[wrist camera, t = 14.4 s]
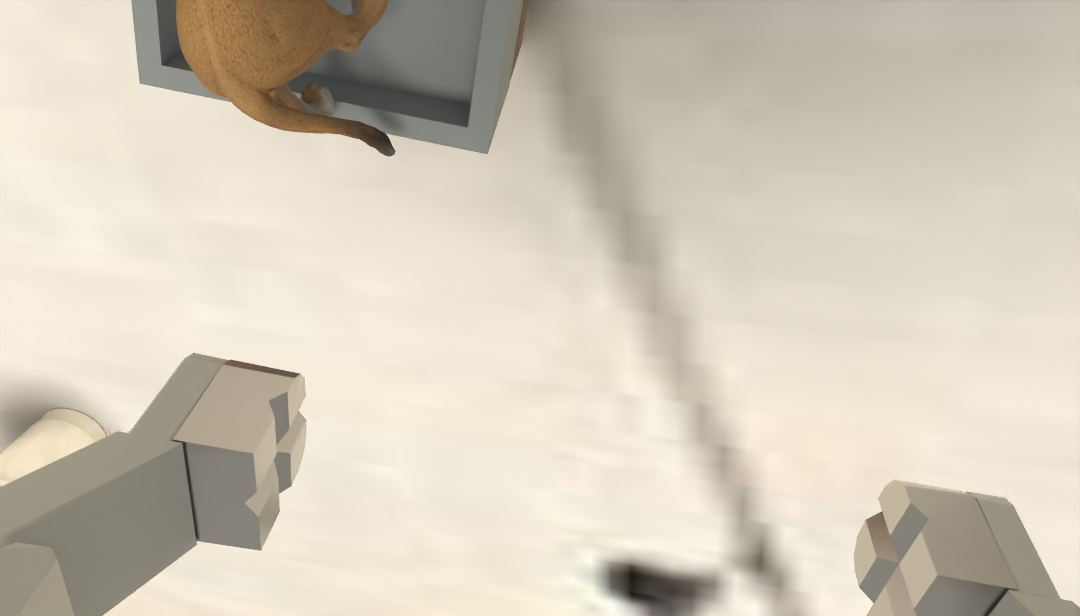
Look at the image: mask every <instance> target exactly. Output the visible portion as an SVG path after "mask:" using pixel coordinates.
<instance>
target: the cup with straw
mask: <svg viewBox="0 0 1080 616" xmlns="http://www.w3.org/2000/svg"><path fill="white" fill-rule="evenodd" d="M105 437H107V436H106V434H105V432H104V430H103V429H102V428H101V426H100V425H99V424H98V423H97V422H95V421H94V420H93V419H91V418H90V417H88V416H87V415H85V414H83V413H80V412H78V411H75V410H70V409H61V408H60V409H53V410H50V411H48V412H46V413H45V414H44V415H43V416H42V418H41V420H40V421H37V422H36V423H34V424H33V425H31V426H30V427H29V428H28V429H27V430H26V431H25V432H24V433H22V434H21V435H20V436H19V437H18V438H17V439H16V440H15V441H13V442H12V443H11V444H10V445H9V446H8V447H7V448H6V449H5V450H3V451H2V452H1V453H0V487H1V486H4V485H6V484H8V483H10V482H12V481H14V480H16V479H18V478H20V477H23V476H25V475H27V474H29V473H31V472H33V471H35V470H37V469H39V468H42V467H44V466H46V465H48V464H50V463H52V462H54V461H56V460H58V459H61V458H63V457H65V456H67V455H69V454H71V453H73V452H75V451H77V450H80V449H82V448H84V447H86V446H88V445H90V444H92V443H94V442H96V441H99V440H101V439H103V438H105Z"/></svg>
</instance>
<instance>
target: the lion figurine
mask: <svg viewBox="0 0 1080 616" xmlns="http://www.w3.org/2000/svg"><path fill="white" fill-rule="evenodd" d="M387 3H388V0H351V5H352V13H351V14H350V15H343V14H342V13H340V12H339V11H337V10H336V9H334V8H332V7H331V6H330V5H328V4H327V3H326V2H325V1H323V0H176V22H177V31H178V38H179V43H180V47H181V50H182V53H183V55H184V57H185V59H186V61H187V63H188V64H189V66H190V67H191V69H192V70H193V72H194V73H195V75H196V76H197V78H198V79H199V81H200V82H201V84H202V85H203V86H204V88H205V89H207V90H208V91H209V92H211V93H213V94H215V95H217V96H220V97H224V98H228V99H229V100H230V101H231V102H232V103H233V104H234V105H235V106H236V107H237V108H238V109H240V110H241V111H242V112H243V113H245V114H246V115H248V116H250V117H251V118H253V119H254V120H257V121H259V122H261V123H263V124H266V125H268V126H270V127H274V128H277V129H281V130H286V131H292V132H304V133H332V134H341V135H345V136H349V137H352V138H357V139H360V140H362V141H364V142H365V143H367V144H368V145H369V146H371V147H374V148H376V149H377V150H378V151H379V152H380V153H382V154H384V155H386V156H392V155H394V154H395V150H394V148H393V147H392V144H391V142H390V139H389V138H388V136H387V135H386V134H385V133H384V132H382V131H380V130H378V129H377V128H375V127H372V126H369V125H367V124H364V123H362V122H360V121H354V120H347V119H342V118H336V117H332V116H333V114H334V101H333V98H332V95H331V93H330V91H329V90H328V89H327V88H326V87H325V86H322V85H319V84H317V83H309V84H307V86H306V88H305V89H304V91H303V92H302V93H301V98H300V99H299V98H298V97H297V96H296V95H295V94H294V93H293V92H292V91H291V89H290V88H289V87H288V85H287V84H286V83H287V82H289V81H291V80H292V79H294V78H296V77H297V76H299V75H300V74H302V73H303V72H305V71H306V70H307V69H308V68H309V67H311V66H312V65H313V64H314V63H315V62H316V61H318V60H319V59H320V58H321V57H322V56H323V55H325V54H326V53H327V52H328V51H330V50H332V49H340V50H342V51H346V52H353V51H355V50H356V49H357V48H358V47H359V45H360V43H361V42H362V40H363V39H364V37H365V36H366V34H367V33H368V32H369V30H370V29H371V28H372V27H373V26H375V25H376V24H377V23H378V22H379V20H380V19H381V18H382V16H383V15H384V13H385V11H386V7H387Z"/></svg>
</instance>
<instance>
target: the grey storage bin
mask: <svg viewBox="0 0 1080 616" xmlns="http://www.w3.org/2000/svg"><path fill="white" fill-rule="evenodd" d="M131 1H132V11H133V21H134V31H135V41H136V51H137V61H138V71H139V81H140V84H145V85H150V86H155V87H160V88H164V89H169V90H174V91H179V92H184V93H189V94H194V95H199V96H204V97H209V98H214V99H219V100H224V101H229V102H231V101H230V100H229V99H228V98H224V97H220V96H217V95H215V94H213V93H211V92H209V91H208V90H207V89H205V88H204V86H203V85H202V84H201V82H200V81H199V79H198V78H197V76H196V75H195V73H194V72H193V70H192V69H191V67H190V66H189V64H188V63H187V61H186V59H185V57H184V55H183V53H182V50H181V47H180V43H179V38H178V31H177V22H176V0H131ZM323 1H325V2H326V3H327V4H328V5H330V6H331V7H332V8H334V9H336V10H337V11H339V12H340V13H342V14H343V15H350V14H351V13H352V5H351V0H323ZM522 5H523V0H388V3H387V7H386V11H385V13H384V15H383V16H382V18H381V19H380V20H379V22H378V23H377V24H376V25H375V26H373V27H372V28H371V29H370V30H369V32H368V33H367V34H366V36H365V37H364V39H363V40H362V42H361V43H360V45H359V47H358V48H357V49H356V50H355V51H353V52H346V51H342V50H340V49H332V50H330V51H328V52H327V53H326V54H325V55H323V56H322V57H321V58H320V59H319V60H318V61H316V62H315V63H314V64H313V65H312V66H311V67H309V68H308V69H307V70H306V71H305V72H303V73H302V74H300V75H299V76H297V77H296V78H294V79H292V80H291V81H289V82H287V83H286V84H287V85H288V87H289V88H290V89H291V91H292V92H293V93H294V94H295V95H296V96H297V97H298V98H299V99H300V98H301V93H302V92H303V91H304V89H305V88H306V86H307V84H309V83H317V84H319V85H322V86H325V87H326V88H327V89H328V90H329V91H330V93H331V95H332V98H333V101H334V114H333V116H332V117H336V118H342V119H347V120H354V121H360V122H362V123H364V124H367V125H369V126H372V127H375V128H377V129H378V130H380V131H382V132H384V133H386V134H391V135H396V136H401V137H406V138H411V139H416V140H421V141H426V142H431V143H436V144H441V145H445V146H450V147H455V148H460V149H465V150H470V151H475V152H480V153H485V154H488V151H489V148H490V145H491V141H492V138H493V135H494V132H495V129H496V126H497V122H498V119H499V116H500V113H501V110H502V107H503V103H504V100H505V97H506V94H507V91H508V88H509V83H510V77H511V71H512V65H513V59H514V53H515V47H516V41H517V35H518V29H519V23H520V17H521V11H522Z"/></svg>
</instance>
